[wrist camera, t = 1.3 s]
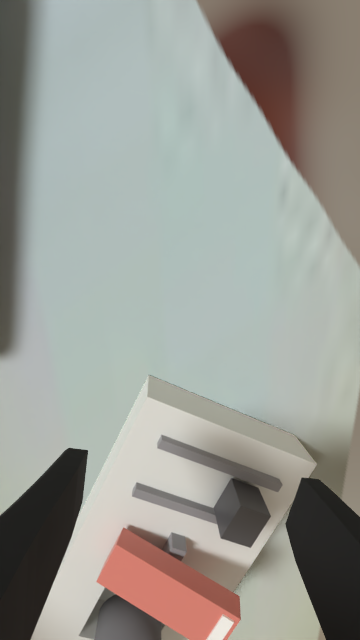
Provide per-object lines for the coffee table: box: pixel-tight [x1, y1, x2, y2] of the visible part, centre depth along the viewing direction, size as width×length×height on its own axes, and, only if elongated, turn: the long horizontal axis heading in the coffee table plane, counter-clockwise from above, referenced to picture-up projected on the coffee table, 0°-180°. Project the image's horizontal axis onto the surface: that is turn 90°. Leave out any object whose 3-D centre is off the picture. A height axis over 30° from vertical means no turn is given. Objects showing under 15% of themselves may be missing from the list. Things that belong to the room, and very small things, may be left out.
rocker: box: [96, 527, 241, 640], centre depth 17 cm, size 3×8×1 cm, turn 64°
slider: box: [214, 478, 271, 548], centre depth 17 cm, size 2×2×2 cm
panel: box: [31, 375, 317, 640], centre depth 20 cm, size 20×12×4 cm, turn 154°
